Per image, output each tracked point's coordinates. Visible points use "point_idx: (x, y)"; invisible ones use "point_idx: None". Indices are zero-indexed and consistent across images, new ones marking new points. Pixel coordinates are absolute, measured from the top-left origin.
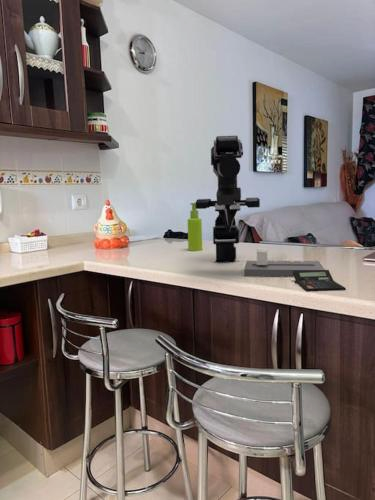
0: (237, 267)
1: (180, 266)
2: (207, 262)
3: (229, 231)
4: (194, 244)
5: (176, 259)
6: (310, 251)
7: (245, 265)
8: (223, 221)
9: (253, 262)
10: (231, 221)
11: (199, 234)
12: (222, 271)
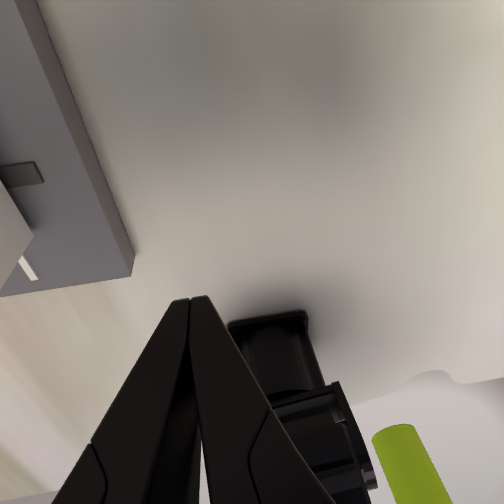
0: (176, 234)
1: (461, 202)
2: (338, 299)
3: (172, 304)
4: (405, 448)
5: (465, 319)
6: (21, 492)
7: (70, 139)
8: (268, 411)
9: (67, 238)
10: (103, 439)
11: (404, 492)
12: (227, 119)
